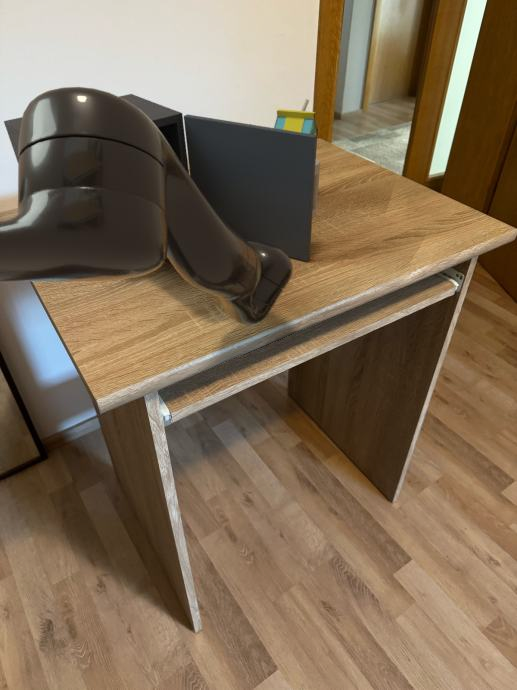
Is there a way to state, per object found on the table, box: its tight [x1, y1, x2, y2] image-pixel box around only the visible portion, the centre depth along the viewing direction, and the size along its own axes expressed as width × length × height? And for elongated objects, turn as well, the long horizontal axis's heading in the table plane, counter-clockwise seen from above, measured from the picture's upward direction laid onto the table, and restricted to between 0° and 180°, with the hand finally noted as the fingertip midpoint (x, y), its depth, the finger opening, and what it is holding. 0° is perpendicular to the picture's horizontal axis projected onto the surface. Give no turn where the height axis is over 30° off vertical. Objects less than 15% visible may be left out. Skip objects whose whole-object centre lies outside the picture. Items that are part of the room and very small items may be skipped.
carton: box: [273, 98, 319, 150], centre depth 94 cm, size 7×8×18 cm
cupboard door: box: [183, 114, 321, 262], centre depth 80 cm, size 6×22×20 cm, turn 61°
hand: (126, 202), depth 81 cm, fingers closed on pill bottle, 6 cm apart
